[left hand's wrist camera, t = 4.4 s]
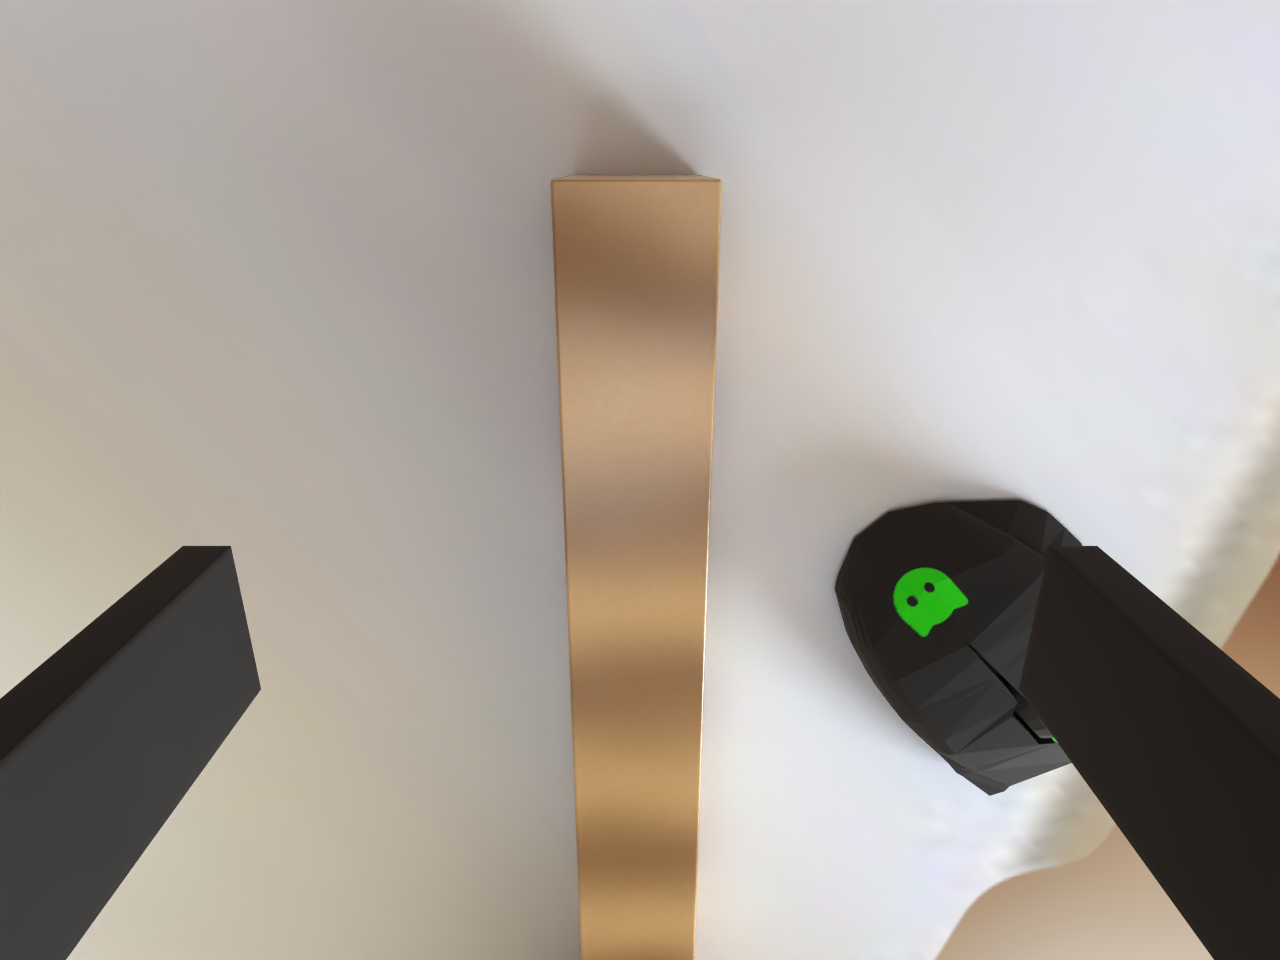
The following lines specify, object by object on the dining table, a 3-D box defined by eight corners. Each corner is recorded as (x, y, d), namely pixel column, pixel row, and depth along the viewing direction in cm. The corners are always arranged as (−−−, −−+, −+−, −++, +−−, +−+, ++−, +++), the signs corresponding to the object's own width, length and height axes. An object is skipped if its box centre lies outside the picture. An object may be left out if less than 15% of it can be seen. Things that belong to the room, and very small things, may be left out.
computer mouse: (991, 433, 34) (1034, 466, 30) (1182, 668, 39) (1241, 721, 35) (785, 592, 37) (802, 640, 33) (986, 794, 42) (1020, 856, 38)
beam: (571, 175, 30) (550, 179, 23) (701, 175, 30) (722, 179, 23) (598, 1071, 50) (591, 1227, 43) (678, 1071, 50) (685, 1227, 43)
